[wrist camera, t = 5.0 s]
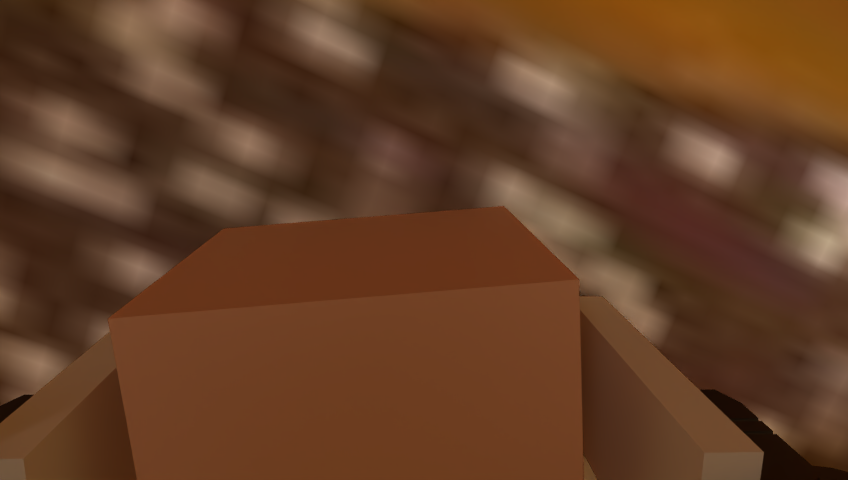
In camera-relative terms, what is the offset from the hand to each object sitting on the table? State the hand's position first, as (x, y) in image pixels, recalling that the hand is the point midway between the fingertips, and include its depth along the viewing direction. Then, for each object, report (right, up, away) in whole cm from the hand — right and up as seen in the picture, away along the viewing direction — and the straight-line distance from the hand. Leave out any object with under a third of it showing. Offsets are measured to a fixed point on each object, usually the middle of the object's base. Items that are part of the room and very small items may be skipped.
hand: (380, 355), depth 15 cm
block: (0, 0, 0) cm, 0 cm away
